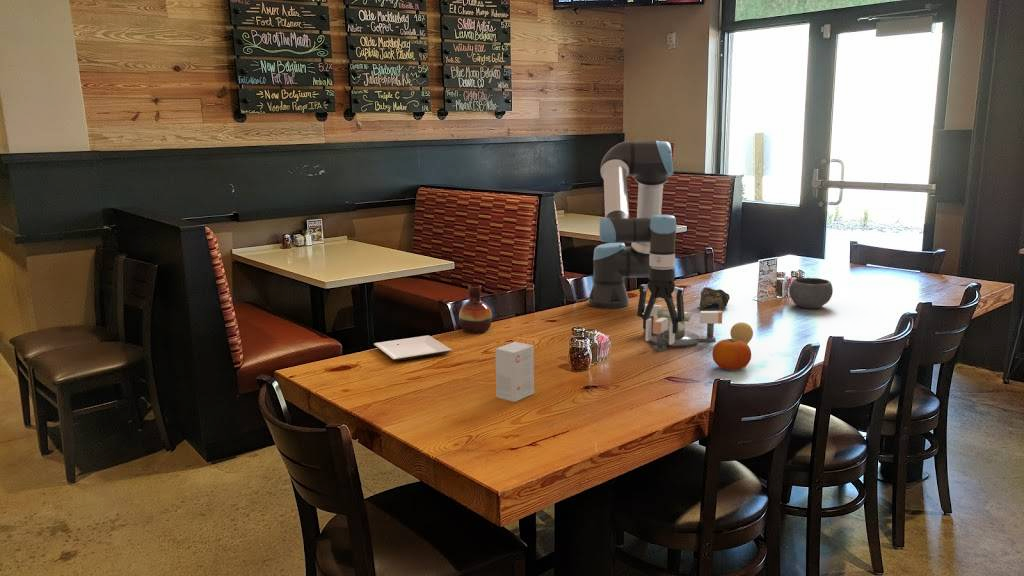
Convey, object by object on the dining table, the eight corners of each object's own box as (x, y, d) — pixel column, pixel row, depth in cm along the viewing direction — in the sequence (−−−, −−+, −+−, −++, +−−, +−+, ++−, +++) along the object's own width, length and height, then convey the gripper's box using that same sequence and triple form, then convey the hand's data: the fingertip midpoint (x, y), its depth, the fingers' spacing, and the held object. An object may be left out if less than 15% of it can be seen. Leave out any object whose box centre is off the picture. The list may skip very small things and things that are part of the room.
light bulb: (752, 353, 231) (754, 321, 229) (751, 359, 226) (753, 326, 223) (730, 351, 233) (731, 319, 231) (728, 357, 228) (730, 324, 226)
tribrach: (621, 345, 242) (621, 313, 240) (647, 329, 259) (647, 300, 257) (696, 356, 229) (697, 322, 227) (718, 339, 247) (719, 308, 245)
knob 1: (660, 328, 256) (661, 304, 254) (659, 330, 254) (659, 306, 252) (641, 326, 258) (642, 303, 257) (639, 328, 257) (640, 304, 255)
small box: (515, 389, 204) (515, 341, 201) (534, 394, 200) (534, 345, 197) (495, 397, 198) (494, 348, 195) (514, 402, 194) (513, 352, 191)
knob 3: (700, 337, 245) (701, 312, 243) (699, 335, 247) (700, 310, 245) (721, 337, 245) (722, 312, 243) (719, 335, 247) (720, 310, 245)
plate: (393, 365, 226) (393, 358, 226) (373, 349, 242) (373, 343, 242) (452, 355, 235) (452, 349, 234) (429, 341, 251) (429, 334, 250)
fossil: (727, 302, 294) (730, 282, 288) (729, 319, 287) (732, 298, 281) (697, 301, 295) (700, 281, 289) (698, 317, 288) (701, 297, 282)
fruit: (744, 376, 211) (745, 348, 209) (706, 370, 216) (707, 342, 215) (754, 365, 220) (756, 338, 218) (718, 360, 225) (719, 333, 224)
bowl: (787, 310, 284) (789, 283, 281) (789, 301, 297) (791, 275, 295) (831, 313, 278) (833, 285, 276) (831, 304, 292) (833, 278, 289)
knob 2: (660, 342, 240) (661, 317, 238) (666, 343, 239) (667, 318, 237) (652, 347, 234) (653, 321, 233) (659, 348, 233) (659, 322, 232)
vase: (497, 328, 264) (496, 283, 261) (483, 336, 255) (481, 290, 251) (468, 325, 269) (467, 281, 266) (453, 333, 259) (451, 287, 256)
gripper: (626, 266, 234) (624, 340, 238) (689, 272, 223) (687, 349, 228) (635, 262, 240) (634, 334, 245) (698, 267, 230) (695, 343, 234)
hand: (659, 341), depth 236 cm, fingers open, 7 cm apart
